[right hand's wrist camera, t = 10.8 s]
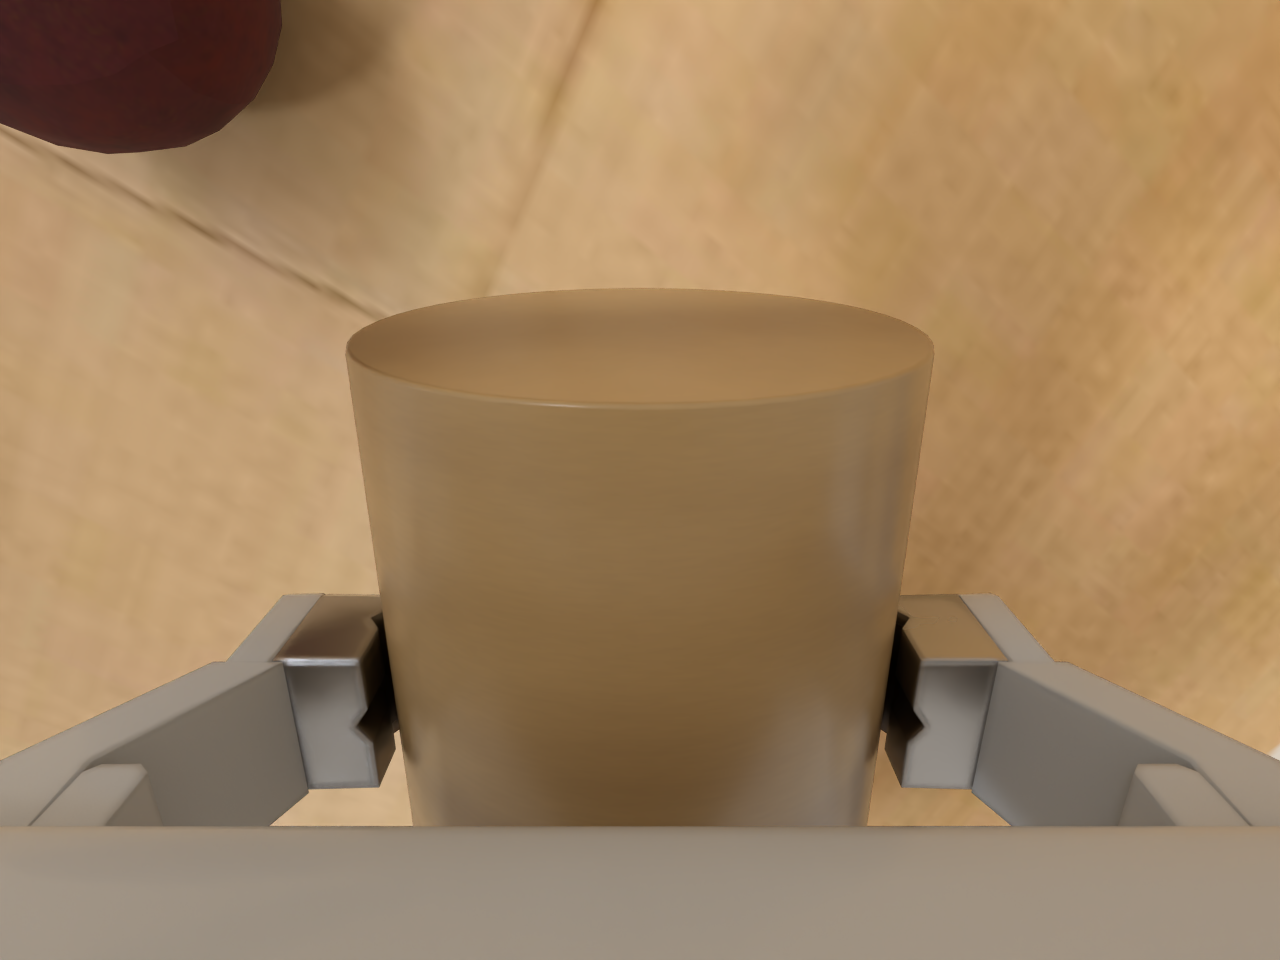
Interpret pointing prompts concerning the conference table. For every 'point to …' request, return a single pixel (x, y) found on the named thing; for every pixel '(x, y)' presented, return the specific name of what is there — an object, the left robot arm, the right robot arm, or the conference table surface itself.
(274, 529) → the conference table surface
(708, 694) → the rod
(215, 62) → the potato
